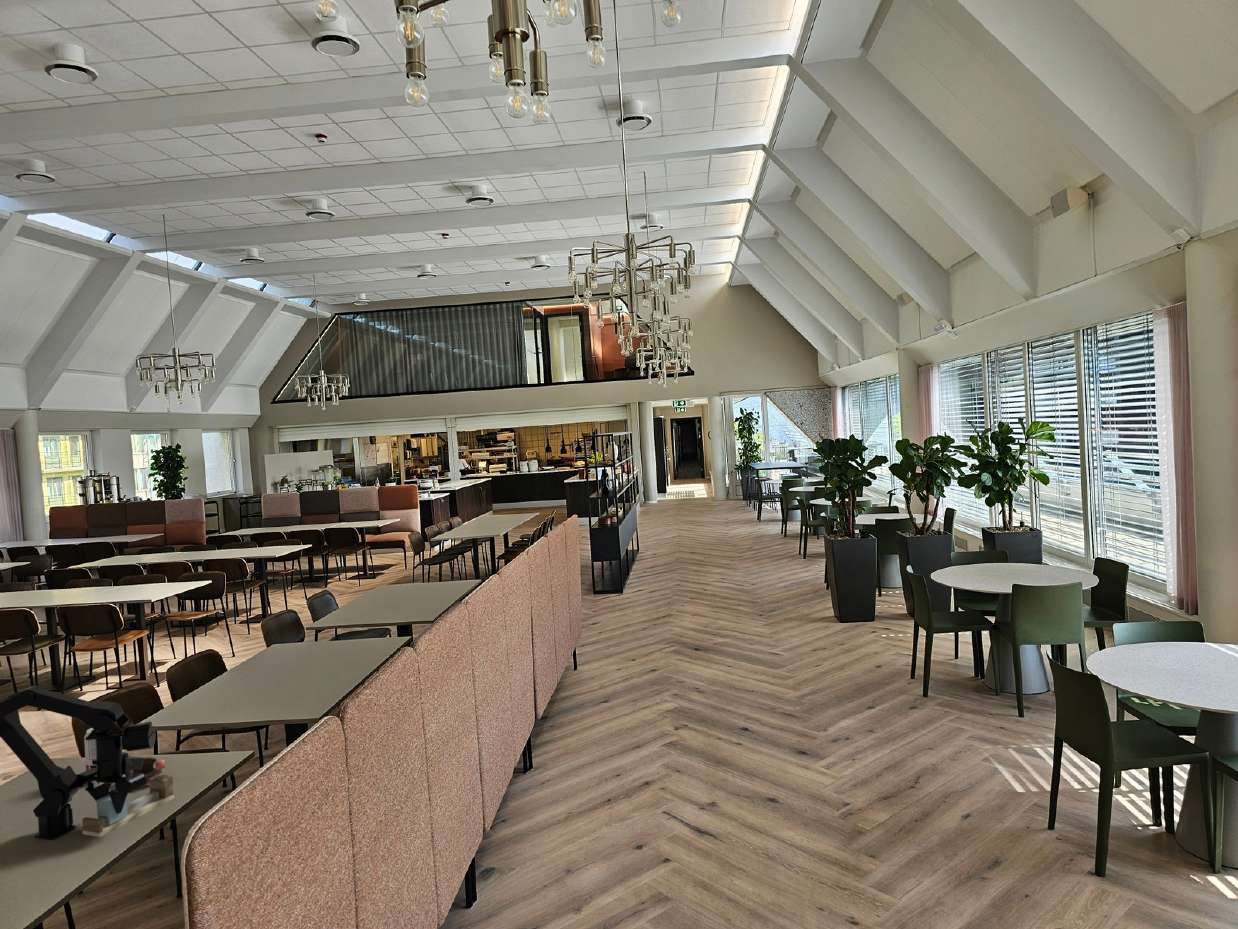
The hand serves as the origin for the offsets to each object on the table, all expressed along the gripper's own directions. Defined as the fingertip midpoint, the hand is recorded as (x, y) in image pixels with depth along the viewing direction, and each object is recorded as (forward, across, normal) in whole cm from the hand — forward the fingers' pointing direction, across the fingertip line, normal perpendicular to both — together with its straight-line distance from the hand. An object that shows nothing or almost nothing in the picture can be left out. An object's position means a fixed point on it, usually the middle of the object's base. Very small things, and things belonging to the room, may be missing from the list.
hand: (112, 812), depth 201 cm
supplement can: (+3, +31, -22) cm, 38 cm away
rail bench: (+3, 0, -5) cm, 6 cm away
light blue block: (+2, 0, 0) cm, 2 cm away
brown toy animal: (+4, +16, -22) cm, 28 cm away
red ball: (-6, 0, -15) cm, 16 cm away
